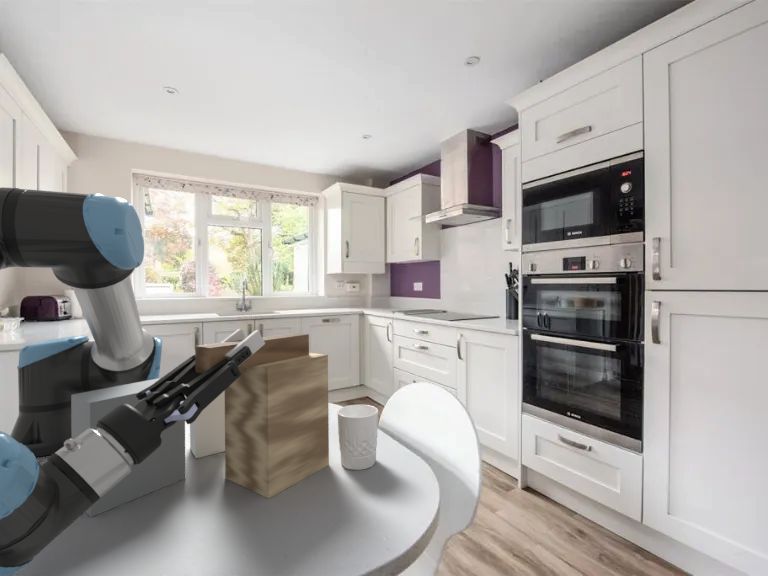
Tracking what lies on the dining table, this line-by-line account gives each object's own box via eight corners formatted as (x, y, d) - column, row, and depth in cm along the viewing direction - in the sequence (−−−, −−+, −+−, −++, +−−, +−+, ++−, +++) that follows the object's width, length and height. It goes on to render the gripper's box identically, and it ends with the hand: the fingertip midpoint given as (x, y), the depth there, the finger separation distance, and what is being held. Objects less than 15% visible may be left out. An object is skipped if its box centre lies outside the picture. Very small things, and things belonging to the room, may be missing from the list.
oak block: (225, 478, 67) (224, 360, 67) (286, 450, 79) (285, 349, 79) (268, 498, 60) (267, 367, 60) (328, 464, 72) (327, 354, 72)
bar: (195, 371, 58) (195, 345, 58) (294, 353, 74) (294, 332, 74) (210, 375, 56) (209, 347, 56) (309, 355, 72) (308, 334, 72)
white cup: (345, 475, 68) (344, 420, 68) (333, 457, 75) (332, 407, 75) (385, 466, 71) (384, 413, 71) (369, 450, 78) (369, 402, 78)
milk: (195, 459, 75) (194, 348, 75) (190, 448, 80) (188, 345, 80) (227, 450, 79) (226, 345, 79) (220, 441, 84) (218, 342, 84)
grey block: (71, 500, 60) (71, 394, 60) (163, 466, 72) (162, 377, 72) (90, 517, 56) (90, 402, 56) (185, 478, 67) (184, 383, 67)
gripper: (126, 440, 41) (275, 319, 58) (71, 412, 51) (212, 316, 67) (163, 485, 44) (294, 358, 61) (104, 451, 54) (232, 349, 70)
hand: (251, 336), depth 64 cm, fingers closed on bar, 4 cm apart
